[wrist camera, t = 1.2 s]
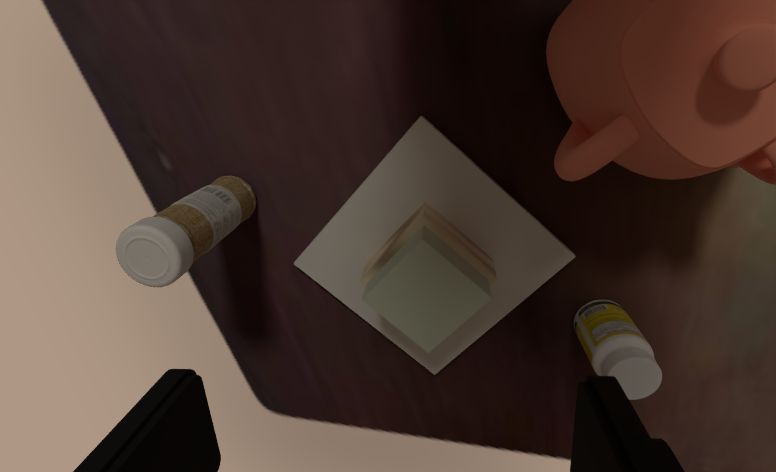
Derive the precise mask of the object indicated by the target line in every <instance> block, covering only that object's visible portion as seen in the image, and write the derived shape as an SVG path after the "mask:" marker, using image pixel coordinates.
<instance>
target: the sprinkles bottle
mask: <svg viewBox="0 0 776 472" xmlns="http://www.w3.org/2000/svg"><path fill="white" fill-rule="evenodd" d="M255 208H256V197H255V194H254V191H253V190H252V188H251V187H250V185H249V184H248V183H247V182H245V181H244V180H242V179H241V178H238V177H235V176H222V177H220V178H218V179H216V180H215V181H214V182H213V183H212V184H210V185H208V186H205V187H203V188H201V189H199V190H197V191H195V192H194V193H192V194H190V195H188V196H186V197H184V198H183V199H181V200H179V201H177V202H175V203H174V204H172V205H171V206H170V207H168V208H167V209H165V210H163V211H161V212H160V213H158V214H156V215H154V216H153V217H148V218H144V219H142V220H140V221H138V222H136V223H135V224H133V225H132V226H130V227H128V228H127V229H125V230H124V231H123V232H122V233H121V234H120V236H119V238H118V240H117V244H116V254H117V258H118V261H119V263H120V265H121V267H122V268H123V269H124V271H125V272H126V273H127V274H128V275H129V276H130V277H131V278H132V279H134V280H136V281H137V282H139V283H141V284H143V285H147V286H150V287H163V286H167V285H169V284H171V283H173V282H174V281H176V280H177V279H178V278H180V277H181V276H182V275H183V274H184V273H186V272H187V271H188V270H189V268H190V267H191V265H192V263H194V262H195V261H196V260H197V259H198V258H199V257H201V256H202V255H203V254H205V253H206V252H208V251H209V250H210V249H211V248H213V247H214V246H215V245H216V244H217V243H218V242H220V241H221V240H222V239H223V238H224V237H226V236H227V235H228V234H229V233H231V232H232V231H233V230H234V229H235V228H236V227H237V226H238V225H239V224H240V223H241V222H243V221H244V220H247V219H248V218H250V216H251V215H252V214H253V212H254V210H255Z"/></svg>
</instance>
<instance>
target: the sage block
mask: <svg viewBox="0 0 776 472" xmlns="http://www.w3.org/2000/svg"><path fill="white" fill-rule="evenodd" d="M491 299H492V295H491V290H490V285H489V280H488V279H487V278H486V277H485V276H484V275H482V274H481V273H480V272H479V271H478V270H477V269H475V268H474V267H473V266H472V265H471V264H470V263H468V262H467V261H466V260H465V259H464V258H463V257H461V256H460V255H459V254H458V253H457V252H456V251H454V250H453V249H452V248H451V247H450V246H449V245H447V244H446V243H445V242H444V241H443V240H442V239H440V238H439V237H438V236H437V235H436V234H435V233H433V232H432V231H431V230H430V229H429V228H427V227H426V226H425V225H423V226H422V227H421V228H420V229H419V230H418V231H417V232H416V233H415V234H414V235H413V236H412V237H411V238H410V239H409V240H408V241H407V242H406V243H405V244H404V245H403V246H402V247H401V248H400V249H399V250H398V251H397V252H396V253H395V255H394V256H393V257H392V258H391V259H390V260H389V261H388V262H387V263H386V264H385V265H384V266H383V267H382V268H381V269H380V270H379V271H378V272H377V273H376V274H375V275H374V276H373V277H372V278H371V279H370V280H369V281H368V283H367V286H366V289H365V292H364V295H363V298H362V301H364V302H365V303H366V304H368V305H369V306H370V307H371V308H373V309H374V310H375V311H376V312H378V313H379V314H380V315H381V316H383V317H384V318H385V319H386V320H388V321H389V322H390V323H391V324H393V325H394V326H395V327H396V328H398V329H399V330H400V331H401V332H403V333H404V334H405V335H406V336H408V337H409V338H410V339H411V340H413V341H414V342H415V343H416V344H418V345H419V346H420V347H422V348H423V349H424V350H425V351H427V352H428V353H430V352H431V351H432V350H433V349H434V348H435V347H436V346H438V345H439V344H440V343H441V342H442V341H443V340H444V339H446V338H447V337H448V336H449V335H450V334H451V333H453V332H454V331H455V330H456V329H457V328H458V327H459V326H461V325H462V324H463V323H464V322H465V321H466V320H468V319H469V318H470V317H471V316H472V315H473V314H474V313H476V312H477V311H478V310H479V309H480V308H481V307H482V306H484V305H485V304H486V303H487V302H488V301H489V300H491Z"/></svg>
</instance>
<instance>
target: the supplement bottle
mask: <svg viewBox="0 0 776 472" xmlns="http://www.w3.org/2000/svg"><path fill="white" fill-rule="evenodd" d="M574 330H575V332H576V334H577V336H578V338H579V340H580V342H581V344H582V346H583V348H584V350H585V352H586V354H587V356H588V359H589V361H590V363H591V365H592V367H593V369H594V371H595V372H596V374H597V375H598V376H614V377H616V379H617V380H618V382H619V384H620V385H621V387H622V389H623V391H624V392H625V394H626V396H627V398H628V399H629V400H636V399H641V398H644V397H647V396H649V395H651V394H652V393H654V392H655V391H656V390H657V389H658V387H659V386H660V384H661V381H662V372H661V369H660V368H659V366H658V364H657V363H656V361H655V359H654V353H653V350H652V348H651V346H650V345H649V343H648V342H647V340H646V339H645V338H644V336H643V335H642V334H641V332H640V331H639V330H638V328H637V327H636V325H635V324H634V323H633V321H632V320H631V319H630V317H629V316H628V314H627V313H626V312H625V310H624V309H623V308H622V307H621V306H620V305H619V304H617V303H615V302H613V301H609V300H594V301H591V302H589V303H587V304H585V305H584V306H582V307H581V308H580V309H579V310H578V312H577V313H576V315H575V318H574Z"/></svg>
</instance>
